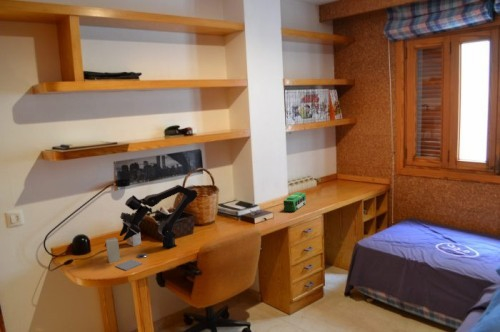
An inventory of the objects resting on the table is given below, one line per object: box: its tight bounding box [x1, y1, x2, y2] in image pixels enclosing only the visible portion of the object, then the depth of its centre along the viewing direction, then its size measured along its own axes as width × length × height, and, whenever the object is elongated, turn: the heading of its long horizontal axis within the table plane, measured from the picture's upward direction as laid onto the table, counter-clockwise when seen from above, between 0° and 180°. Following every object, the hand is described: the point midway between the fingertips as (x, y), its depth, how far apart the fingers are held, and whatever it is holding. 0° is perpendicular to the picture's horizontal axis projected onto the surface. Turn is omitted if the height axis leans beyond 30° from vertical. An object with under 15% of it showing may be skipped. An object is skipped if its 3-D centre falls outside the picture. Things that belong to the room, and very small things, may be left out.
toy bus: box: [283, 192, 307, 213], centre depth 306 cm, size 11×27×10 cm, turn 145°
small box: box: [125, 231, 142, 247], centre depth 248 cm, size 8×6×10 cm
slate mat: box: [114, 259, 143, 271], centre depth 215 cm, size 10×10×1 cm
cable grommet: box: [136, 253, 148, 259], centre depth 227 cm, size 6×6×1 cm
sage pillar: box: [105, 236, 121, 264], centre depth 223 cm, size 6×6×12 cm
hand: (121, 237), depth 225 cm, fingers open, 9 cm apart
